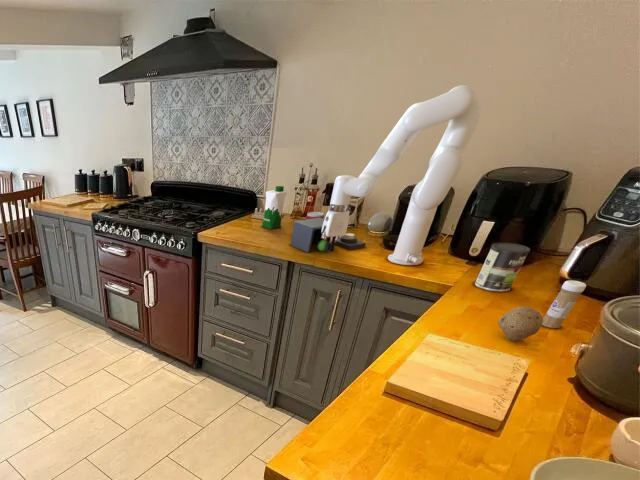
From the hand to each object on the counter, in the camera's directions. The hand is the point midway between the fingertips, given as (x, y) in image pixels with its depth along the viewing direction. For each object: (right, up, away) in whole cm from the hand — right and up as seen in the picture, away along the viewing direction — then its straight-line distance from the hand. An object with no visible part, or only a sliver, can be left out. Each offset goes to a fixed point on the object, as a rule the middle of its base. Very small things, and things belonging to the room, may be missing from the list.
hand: (328, 251), depth 184 cm
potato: (+20, -47, -66) cm, 84 cm away
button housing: (+13, +6, +9) cm, 17 cm away
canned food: (+2, +15, +23) cm, 27 cm away
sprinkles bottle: (+37, -43, -61) cm, 83 cm away
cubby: (-3, +5, +10) cm, 12 cm away
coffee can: (+41, -25, -37) cm, 60 cm away
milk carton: (-12, +26, +40) cm, 50 cm away
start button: (+13, +8, +7) cm, 17 cm away
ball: (-1, +3, +2) cm, 4 cm away
